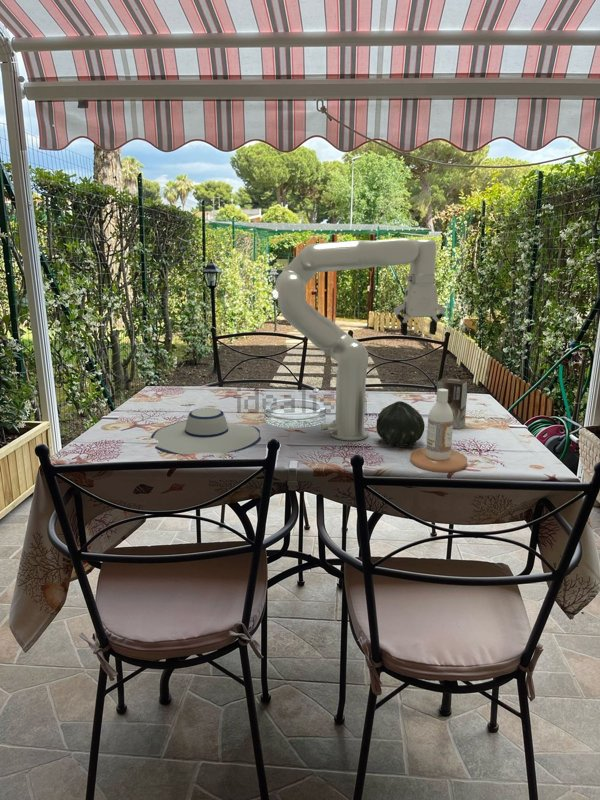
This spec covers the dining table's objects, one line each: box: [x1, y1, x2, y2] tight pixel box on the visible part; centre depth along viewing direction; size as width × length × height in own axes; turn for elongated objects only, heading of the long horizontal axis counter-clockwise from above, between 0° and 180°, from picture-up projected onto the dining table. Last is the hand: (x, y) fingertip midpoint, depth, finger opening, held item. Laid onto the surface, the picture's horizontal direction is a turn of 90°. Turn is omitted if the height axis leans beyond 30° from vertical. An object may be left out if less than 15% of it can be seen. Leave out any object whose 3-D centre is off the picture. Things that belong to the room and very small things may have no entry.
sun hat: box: [150, 407, 262, 455], centre depth 181 cm, size 36×36×9 cm
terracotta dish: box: [409, 447, 468, 473], centre depth 160 cm, size 16×16×2 cm
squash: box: [375, 400, 426, 448], centre depth 175 cm, size 14×15×15 cm
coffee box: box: [435, 377, 469, 430], centre depth 192 cm, size 9×6×16 cm
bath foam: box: [425, 389, 454, 460], centre depth 158 cm, size 7×7×20 cm
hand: (418, 334), depth 178 cm, fingers open, 9 cm apart
